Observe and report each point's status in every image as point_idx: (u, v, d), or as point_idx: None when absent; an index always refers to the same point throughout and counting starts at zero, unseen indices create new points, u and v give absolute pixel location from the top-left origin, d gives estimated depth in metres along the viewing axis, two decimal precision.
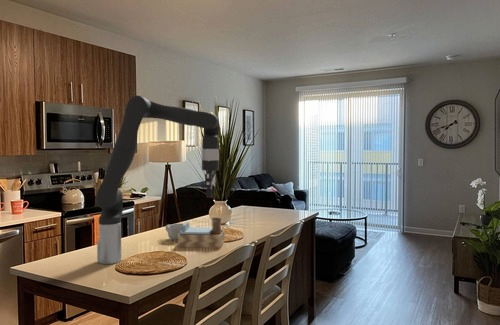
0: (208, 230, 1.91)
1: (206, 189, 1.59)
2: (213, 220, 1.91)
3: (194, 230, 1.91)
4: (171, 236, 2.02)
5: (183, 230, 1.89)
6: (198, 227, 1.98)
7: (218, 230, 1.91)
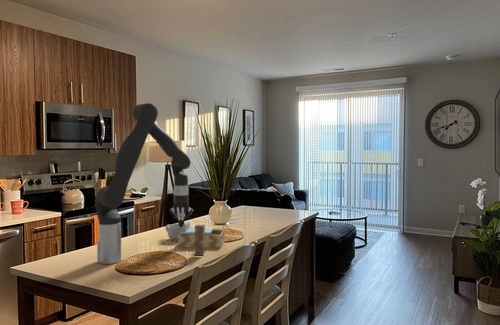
0: (209, 230, 1.91)
1: None
2: (196, 229, 1.74)
3: None
4: (171, 236, 2.02)
5: (184, 230, 1.88)
6: None
7: (201, 240, 1.74)
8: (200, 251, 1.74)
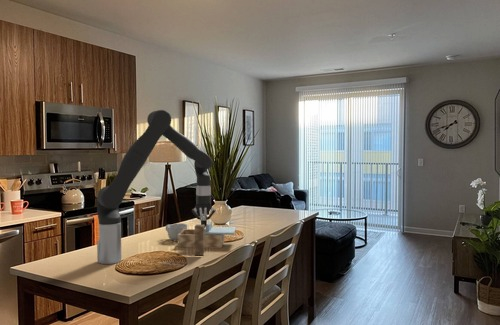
0: (232, 230, 1.90)
1: None
2: (196, 229, 1.74)
3: (218, 230, 1.90)
4: (171, 236, 2.02)
5: (207, 230, 1.88)
6: (221, 227, 1.98)
7: (201, 240, 1.74)
8: (200, 251, 1.74)
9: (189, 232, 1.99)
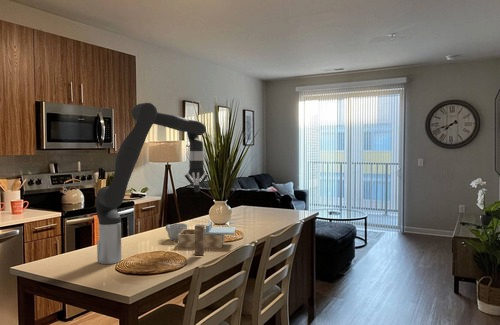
0: (232, 230, 1.90)
1: None
2: (196, 229, 1.74)
3: (218, 230, 1.90)
4: (171, 236, 2.02)
5: (207, 230, 1.88)
6: (221, 227, 1.98)
7: (201, 240, 1.74)
8: (200, 251, 1.74)
9: (189, 232, 1.99)
